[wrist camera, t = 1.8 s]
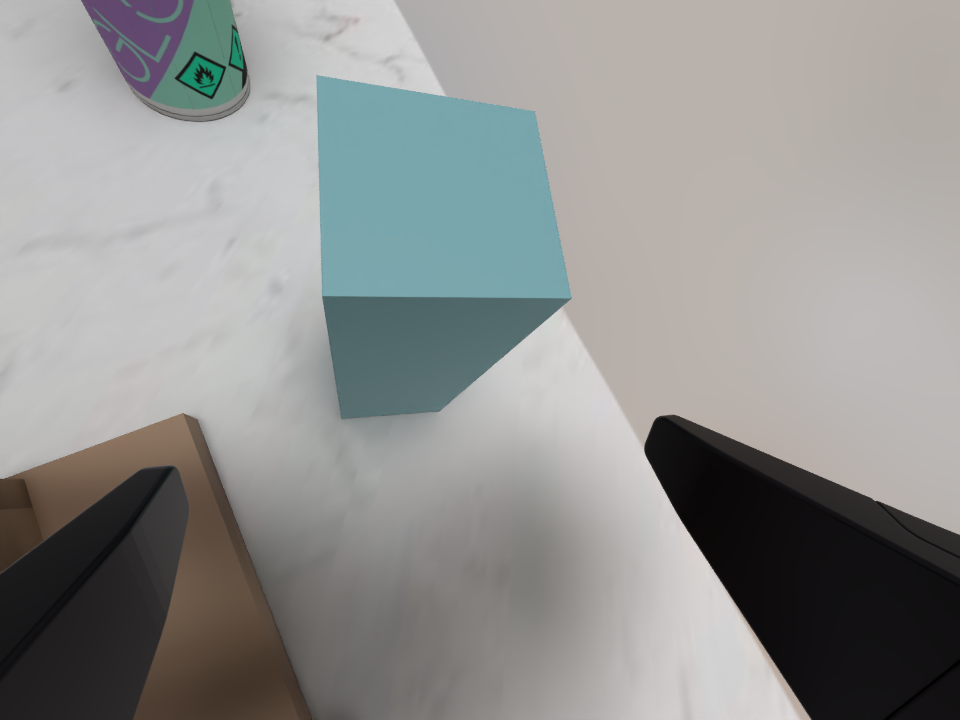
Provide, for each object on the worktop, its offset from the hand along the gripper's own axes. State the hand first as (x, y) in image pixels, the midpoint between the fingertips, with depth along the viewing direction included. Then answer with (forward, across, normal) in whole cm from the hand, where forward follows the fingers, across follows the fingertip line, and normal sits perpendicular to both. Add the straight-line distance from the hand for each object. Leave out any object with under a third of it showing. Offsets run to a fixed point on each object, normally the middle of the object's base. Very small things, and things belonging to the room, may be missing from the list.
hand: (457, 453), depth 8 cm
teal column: (+12, 0, +5) cm, 13 cm away
